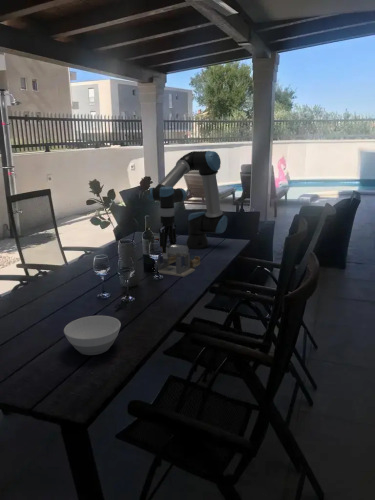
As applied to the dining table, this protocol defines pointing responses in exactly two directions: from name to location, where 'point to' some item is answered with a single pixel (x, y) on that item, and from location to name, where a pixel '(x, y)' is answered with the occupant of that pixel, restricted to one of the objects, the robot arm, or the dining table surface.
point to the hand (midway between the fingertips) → (168, 257)
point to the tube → (177, 250)
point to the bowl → (92, 334)
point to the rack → (192, 262)
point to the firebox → (175, 267)
